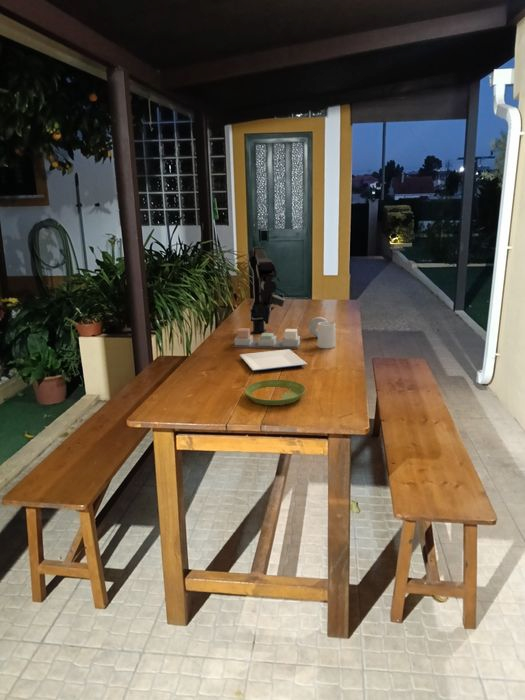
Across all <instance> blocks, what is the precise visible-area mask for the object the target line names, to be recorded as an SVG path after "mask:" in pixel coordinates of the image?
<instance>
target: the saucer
mask: <svg viewBox="0 0 525 700" xmlns="http://www.w3.org/2000/svg"><path fill="white" fill-rule="evenodd" d="M266 387H280V388H287V389H288V390H289V389H291V390H290V391H289V392H291V391H292V392H291V393H289V392H288V393H287V392H285V393H284V395H282V398H281V399H280V400H264V399H258V398H254V397H251V396H252V394H253V392H254V391H256V390H258V389H261V388H266ZM305 392H306V386H305V385H303V384H302V383H301V382H297V381H294V380H288V379H268V380H260V381H256V382H253V383H251V384H249V385H247V386H246V388H244V393H245V395H246V396H247V397H248V398H249V399H250V400H251V401H252V402H254V403H255V404H258V403H260V404H259V405H261V404H265V405H264V406H267V405H280V406H286V405H285V404H287V405H290V404H293V403H295V402H297V401H298V400H299V399H300V398H301V399H302V397H303V396H304V394H305ZM281 394H282V393H281ZM292 402H293V403H292ZM289 403H290V404H289Z"/></svg>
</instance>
